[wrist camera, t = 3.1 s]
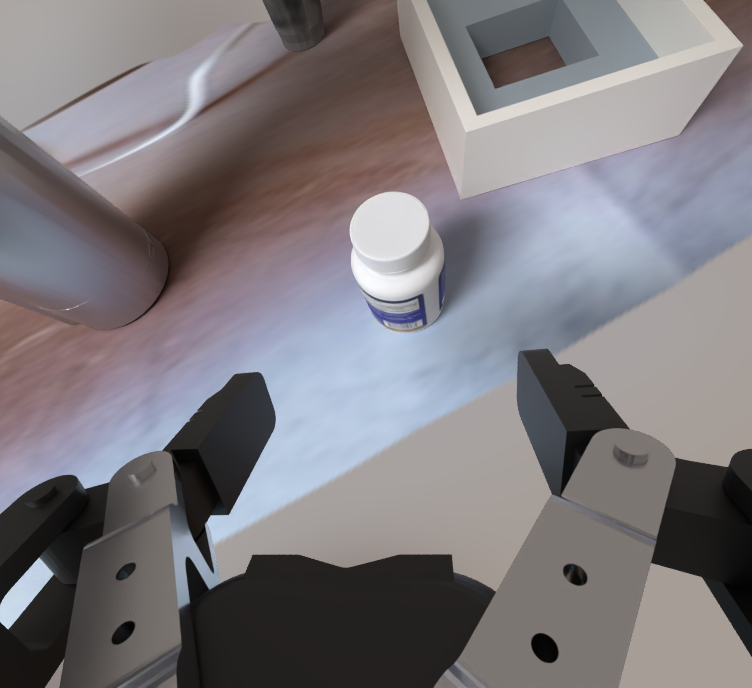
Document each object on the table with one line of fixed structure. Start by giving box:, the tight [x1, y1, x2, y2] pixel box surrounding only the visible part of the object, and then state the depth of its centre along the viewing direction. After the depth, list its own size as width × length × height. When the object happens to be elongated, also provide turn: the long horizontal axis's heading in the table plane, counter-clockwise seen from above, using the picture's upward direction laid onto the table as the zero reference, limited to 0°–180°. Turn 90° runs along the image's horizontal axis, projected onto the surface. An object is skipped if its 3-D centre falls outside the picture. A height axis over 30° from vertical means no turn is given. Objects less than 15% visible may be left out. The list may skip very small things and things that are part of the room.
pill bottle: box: [350, 192, 445, 334], centre depth 22 cm, size 5×5×9 cm
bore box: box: [397, 0, 743, 200], centre depth 28 cm, size 16×20×6 cm
